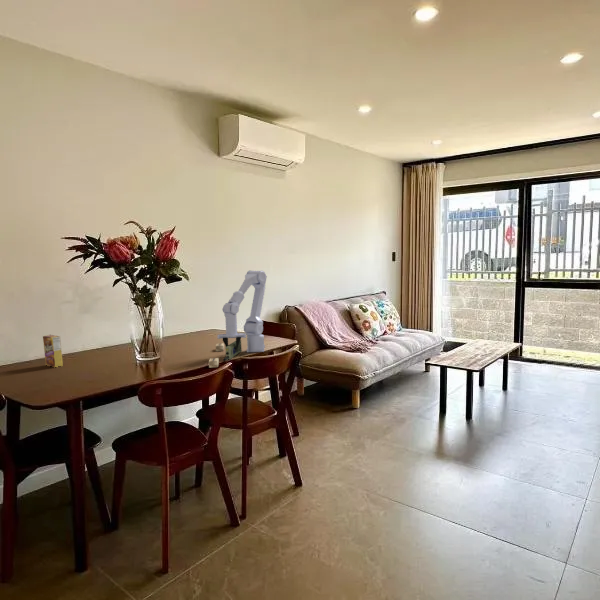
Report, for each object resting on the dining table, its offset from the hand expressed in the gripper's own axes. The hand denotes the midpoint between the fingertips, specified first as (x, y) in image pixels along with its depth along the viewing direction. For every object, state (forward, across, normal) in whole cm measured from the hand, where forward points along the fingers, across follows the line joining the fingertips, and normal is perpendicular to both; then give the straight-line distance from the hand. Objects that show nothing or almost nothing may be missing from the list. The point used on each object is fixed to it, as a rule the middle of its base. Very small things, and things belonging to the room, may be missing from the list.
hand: (232, 351), depth 237 cm
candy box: (+3, -88, -3) cm, 88 cm away
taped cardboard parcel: (+3, -8, 0) cm, 8 cm away
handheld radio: (+3, 0, 0) cm, 3 cm away
